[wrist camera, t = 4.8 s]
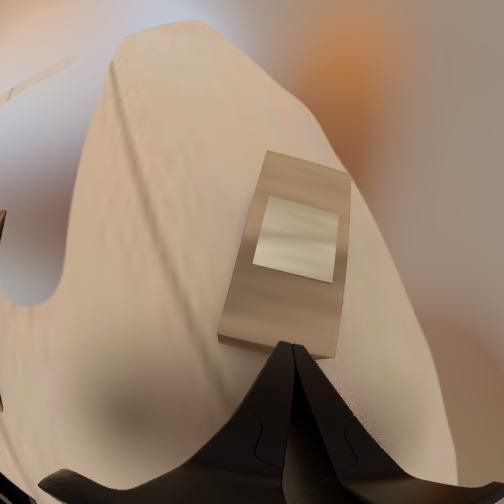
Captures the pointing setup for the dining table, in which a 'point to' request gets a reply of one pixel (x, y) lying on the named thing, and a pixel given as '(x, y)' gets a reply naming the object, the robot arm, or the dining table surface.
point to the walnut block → (291, 260)
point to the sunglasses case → (0, 223)
